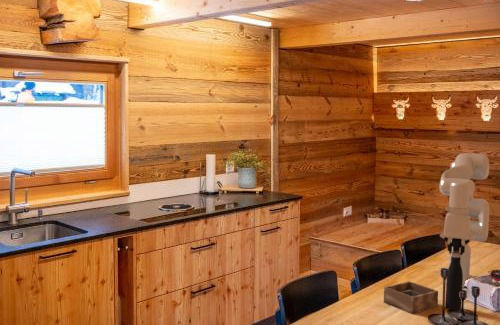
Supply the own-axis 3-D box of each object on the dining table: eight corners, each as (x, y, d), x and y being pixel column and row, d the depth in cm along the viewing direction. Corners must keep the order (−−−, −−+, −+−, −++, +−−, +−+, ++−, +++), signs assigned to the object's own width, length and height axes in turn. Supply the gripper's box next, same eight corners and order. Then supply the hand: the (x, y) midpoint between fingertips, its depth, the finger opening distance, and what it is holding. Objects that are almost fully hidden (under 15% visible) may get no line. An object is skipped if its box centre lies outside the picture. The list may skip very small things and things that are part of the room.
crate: (408, 296, 262) (409, 281, 261) (437, 307, 249) (438, 291, 248) (383, 302, 253) (384, 287, 252) (412, 314, 240) (412, 297, 239)
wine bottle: (441, 305, 248) (445, 237, 244) (454, 304, 250) (457, 236, 247) (452, 311, 242) (455, 241, 238) (464, 309, 244) (468, 240, 241)
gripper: (436, 210, 241) (434, 253, 244) (478, 214, 234) (476, 258, 236) (438, 207, 248) (436, 249, 250) (480, 211, 241) (478, 254, 243)
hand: (456, 253), depth 243 cm, fingers closed on wine bottle, 3 cm apart
